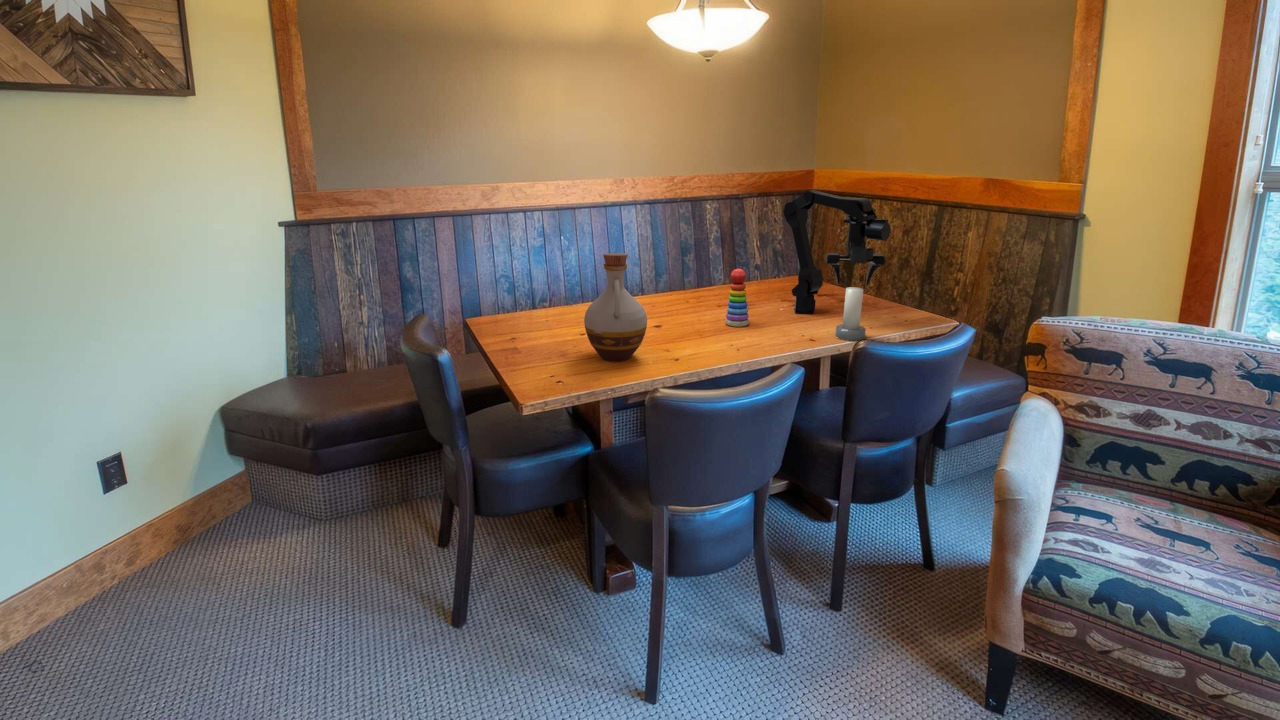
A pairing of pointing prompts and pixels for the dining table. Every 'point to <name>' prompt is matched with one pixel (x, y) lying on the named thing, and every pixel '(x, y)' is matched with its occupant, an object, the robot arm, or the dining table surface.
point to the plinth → (850, 333)
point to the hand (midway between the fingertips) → (852, 284)
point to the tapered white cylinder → (852, 308)
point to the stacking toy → (737, 300)
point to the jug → (615, 315)
